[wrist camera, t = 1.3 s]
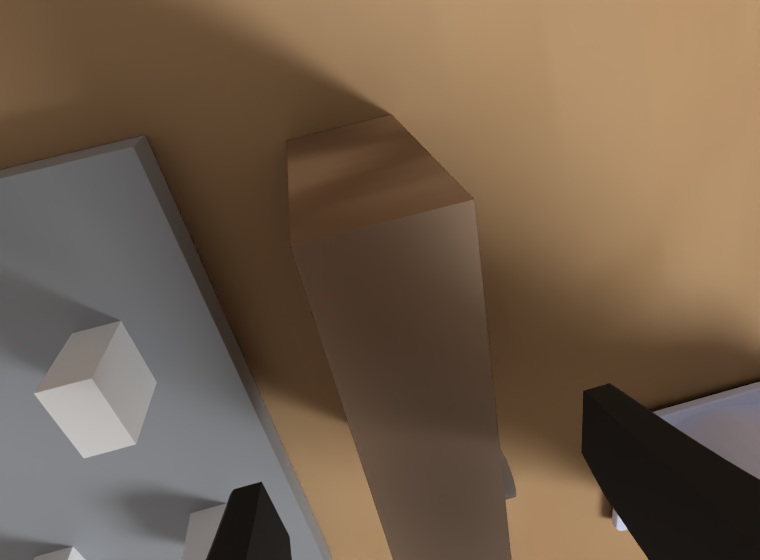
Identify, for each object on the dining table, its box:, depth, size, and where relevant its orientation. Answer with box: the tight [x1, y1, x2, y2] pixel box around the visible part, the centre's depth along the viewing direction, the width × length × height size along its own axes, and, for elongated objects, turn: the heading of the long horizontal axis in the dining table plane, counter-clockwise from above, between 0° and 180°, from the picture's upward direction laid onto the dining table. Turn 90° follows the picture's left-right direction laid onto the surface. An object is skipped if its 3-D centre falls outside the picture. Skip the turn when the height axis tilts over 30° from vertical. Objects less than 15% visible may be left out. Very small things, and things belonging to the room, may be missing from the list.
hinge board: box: [0, 135, 332, 560], centre depth 16 cm, size 12×20×4 cm, turn 10°
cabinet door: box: [287, 114, 516, 560], centre depth 14 cm, size 4×12×7 cm, turn 10°
